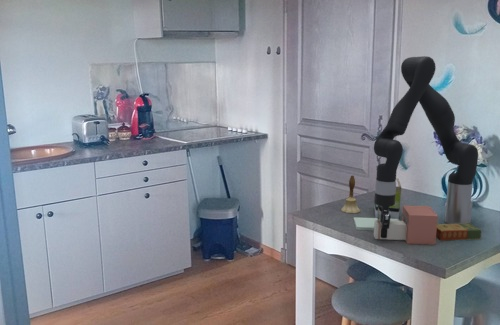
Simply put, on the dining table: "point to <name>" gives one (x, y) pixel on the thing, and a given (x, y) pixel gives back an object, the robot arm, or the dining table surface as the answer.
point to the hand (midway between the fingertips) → (382, 235)
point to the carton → (457, 232)
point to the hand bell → (351, 200)
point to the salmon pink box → (420, 224)
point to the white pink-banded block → (391, 230)
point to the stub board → (366, 223)
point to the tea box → (395, 208)
